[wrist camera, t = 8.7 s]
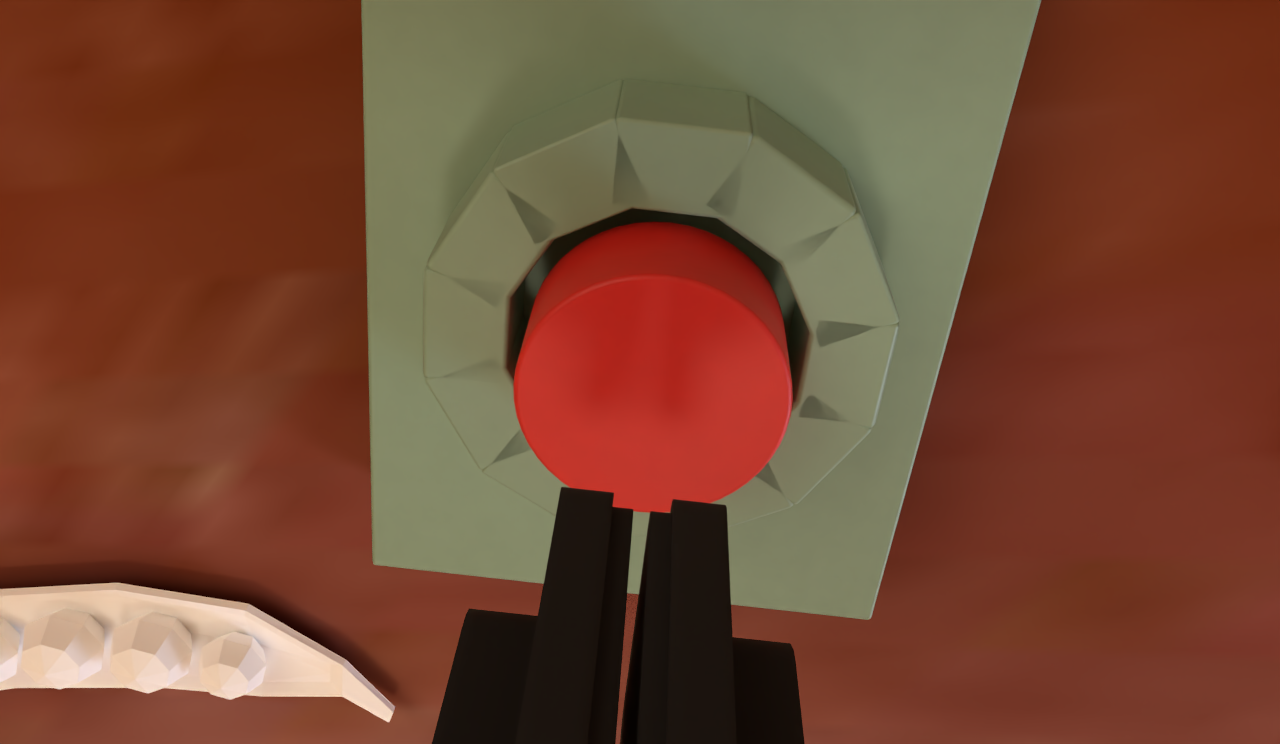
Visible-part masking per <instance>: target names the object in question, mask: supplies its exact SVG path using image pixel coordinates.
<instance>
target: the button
mask: <svg viewBox="0 0 1280 744" xmlns="http://www.w3.org/2000/svg"><path fill="white" fill-rule="evenodd" d="M513 392H514V404H515V410H516V415H517V418H518V421H519V424H520V427H521V430H522V432H523V434H524V436H525V438H526V440H527V442H528V444H529V446H530V447H531V449H532V450H533V452H534V453H535V455H536V456H537V458H538V459H539V460H540V461H541V462H542V464H543V465H544V466H545V467H546V468H547V469H548V470H549V471H550V472H551V473H552V474H553V475H554V476H555V477H557V478H558V479H559V480H560V481H561V482H563V483H564V484H566V485H567V486H569V487H570V488H577V489H586V490H595V491H604V492H613V493H614V498H613V507H618V508H627V509H633V511H635V512H648V513H650V512H651V511H655V512H670V510H671V504H672V500H673V499H677V500H686V501H695V502H704V503H712V502H714V501H717V500H720V499H722V498H724V497H725V496H727V495H729V494H731V493H733V492H735V491H736V490H738V489H739V488H741V487H742V486H744V485H745V484H746V483H748V482H749V481H750V480H751V479H752V478H753V477H755V476H756V475H757V474H758V473H759V472H760V471H761V470H762V469H763V468H764V466H765V465H766V464H767V463H768V462H769V461H770V459H771V458H772V456H773V455H774V453H775V452H776V450H777V449H778V447H779V445H780V444H781V441H782V439H783V437H784V435H785V433H786V430H787V427H788V423H789V420H790V416H791V410H792V402H793V392H792V378H791V371H790V364H789V357H788V349H787V342H786V335H785V327H784V321H783V316H782V311H781V308H780V305H779V302H778V299H777V296H776V294H775V292H774V290H773V288H772V286H771V284H770V282H769V281H768V280H767V278H766V277H765V275H764V274H763V273H762V271H761V270H760V269H759V268H758V266H757V265H756V264H755V263H754V262H753V261H752V260H751V259H750V258H749V257H748V256H747V255H745V254H744V253H743V252H742V251H740V250H739V249H738V248H737V247H735V246H734V245H732V244H730V243H729V242H727V241H726V240H724V239H722V238H720V237H718V236H716V235H714V234H712V233H709V232H707V231H705V230H701V229H698V228H695V227H692V226H688V225H682V224H677V223H670V222H641V223H633V224H628V225H622V226H618V227H615V228H612V229H609V230H606V231H603V232H601V233H599V234H596V235H594V236H592V237H590V238H588V239H586V240H585V241H583V242H582V243H580V244H579V245H577V246H576V247H574V248H573V249H572V250H570V251H569V252H568V253H567V254H566V255H565V256H563V257H562V258H561V259H560V260H559V261H558V263H557V264H556V265H555V266H554V267H553V268H552V269H551V271H550V272H549V274H548V275H547V277H546V278H545V280H544V281H543V283H542V285H541V287H540V289H539V291H538V293H537V296H536V298H535V302H534V305H533V308H532V312H531V315H530V319H529V322H528V326H527V329H526V333H525V336H524V340H523V343H522V347H521V350H520V354H519V357H518V361H517V364H516V368H515V375H514V383H513Z"/></svg>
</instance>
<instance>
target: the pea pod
mask: <svg viewBox="0 0 1280 744" xmlns="http://www.w3.org/2000/svg"><path fill="white" fill-rule="evenodd" d="M13 688H56V689H62V688H130V689H133V690H137V691H141V692H144V693H151V692H154V691H157V690H159V689H162V688H170V689H182V690H193V691H205V692H210V694H211V695H215V696H218V697H222V698H226V699H229V700H231V699H234V698H237V697H240V696H242V695H251V696H307V697H344V698H346V699H348V700H349V701H351V702H353V703H355V704H356V705H358V706H360V707H362V708H364V709H365V710H367V711H369V712H371V713H373V714H374V715H376V716H378V717H380V718H382V719H383V720H385V721H387V722H390V719H391V717H392V715H393V712H394V709H395V706H394V705H393V704H392V703H390V702H389V701H388V700H387V699H386V698H385V697H384V696H383V695H382V694H381V693H380V692H379V691H378V690H377V689H376V688H375V687H374V686H373V685H372V684H371V683H370V682H369V681H368V680H367V679H366V678H365V677H364V676H363V675H361V674H360V673H359V672H358V671H357V670H356V669H355V668H354V667H353V666H352V665H351V664H350V663H349V662H348V661H347V660H346V659H344V658H342V657H341V656H339V655H337V654H335V653H334V652H332V651H330V650H328V649H327V648H325V647H323V646H321V645H320V644H318V643H316V642H314V641H313V640H311V639H309V638H308V637H306V636H304V635H302V634H301V633H299V632H297V631H295V630H294V629H292V628H290V627H288V626H287V625H285V624H283V623H281V622H280V621H278V620H276V619H275V618H273V617H271V616H269V615H268V614H266V613H264V612H262V611H261V610H259V609H257V608H255V607H254V606H252V605H250V604H248V603H241V602H235V601H229V600H223V599H216V598H210V597H204V596H198V595H192V594H185V593H179V592H173V591H167V590H160V589H154V588H148V587H142V586H135V585H129V584H123V583H102V584H83V585H65V586H47V587H29V588H11V589H0V690H6V689H13Z"/></svg>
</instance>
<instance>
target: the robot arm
mask: <svg viewBox="0 0 1280 744" xmlns="http://www.w3.org/2000/svg"><path fill="white" fill-rule="evenodd" d="M613 498H614V493H613V492H604V491H595V490H586V489H577V488H568V487H561V490H560V495H559V501H558V507H557V512H556V518H555V523H554V529H553V535H552V540H551V546H550V551H549V557H548V563H547V568H546V574H545V580H544V585H543V591H542V596H541V602H540V608H539V613H538V616H531V615H522V614H513V613H504V612H495V611H485V610H476V609H469V610H468V612H467V614H466V617H465V620H464V623H463V627H462V630H461V634H460V638H459V642H458V646H457V650H456V653H455V657H454V661H453V665H452V669H451V673H450V676H449V680H448V684H447V688H446V692H445V696H444V699H443V703H442V707H441V711H440V715H439V719H438V722H437V726H436V730H435V734H434V738H433V742H432V744H615V739H616V727H617V714H618V701H619V689H620V676H621V663H622V651H623V638H624V625H625V613H626V600H627V587H628V575H629V562H630V549H631V537H632V524H633V509H627V508H618V507H613ZM620 744H804V736H803V727H802V717H801V708H800V699H799V690H798V681H797V671H796V662H795V656H794V651H793V648H792V646H791V644H789V643H780V642H771V641H761V640H752V639H743V638H734V637H732V618H731V594H730V570H729V546H728V522H727V507H726V505H722V504H713V503H704V502H695V501H686V500H677V499H673V500H672V504H671V510H670V513H664V512H655V511H651V512H650V516H649V523H648V530H647V537H646V545H645V552H644V560H643V567H642V575H641V582H640V589H639V597H638V604H637V612H636V619H635V627H634V634H633V641H632V649H631V656H630V664H629V671H628V678H627V686H626V693H625V701H624V709H623V718H622V728H621V740H620Z"/></svg>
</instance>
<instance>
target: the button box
mask: <svg viewBox="0 0 1280 744" xmlns="http://www.w3.org/2000/svg"><path fill="white" fill-rule="evenodd" d="M1040 3H1041V0H361V7H362V57H363V107H364V157H365V207H366V257H367V307H368V357H369V407H370V457H371V508H372V558H373V563H374V564H375V565H381V566H390V567H399V568H408V569H417V570H426V571H435V572H444V573H453V574H462V575H471V576H480V577H489V578H498V579H507V580H516V581H525V582H534V583H543V584H544V580H545V574H546V568H547V563H548V557H549V551H550V546H551V540H552V535H553V529H554V523H555V518H556V512H557V507H558V501H559V495H560V490H561V487H568V488H570V487H569V486H567V485H566V484H564V483H563V482H561V481H560V480H559V479H558V478H557V477H555V476H554V475H553V474H552V473H551V472H550V471H549V470H548V469H547V468H546V467H545V466H544V465H543V464H542V462H541V461H540V460H539V459H538V458H537V456H536V455H535V453H534V452H533V450H532V449H531V447H530V446H529V444H528V442H527V440H526V438H525V436H524V434H523V432H522V430H521V427H520V424H519V421H518V418H517V415H516V410H515V404H514V392H513V383H514V375H515V368H516V364H517V361H518V357H519V354H520V350H521V347H522V343H523V340H524V336H525V333H526V329H527V326H528V322H529V319H530V315H531V312H532V308H533V305H534V302H535V298H536V296H537V293H538V291H539V289H540V287H541V285H542V283H543V281H544V280H545V278H546V277H547V275H548V274H549V272H550V271H551V269H552V268H553V267H554V266H555V265H556V264H557V263H558V261H559V260H560V259H561V258H562V257H563V256H565V255H566V254H567V253H568V252H569V251H570V250H572V249H573V248H574V247H576V246H577V245H579V244H580V243H582V242H583V241H585V240H586V239H588V238H590V237H592V236H594V235H596V234H599V233H601V232H603V231H606V230H609V229H612V228H615V227H618V226H622V225H628V224H633V223H641V222H670V223H677V224H682V225H688V226H692V227H695V228H698V229H701V230H705V231H707V232H709V233H712V234H714V235H716V236H718V237H720V238H722V239H724V240H726V241H727V242H729V243H730V244H732V245H734V246H735V247H737V248H738V249H739V250H740V251H742V252H743V253H744V254H745V255H747V256H748V257H749V258H750V259H751V260H752V261H753V262H754V263H755V264H756V265H757V266H758V268H759V269H760V270H761V271H762V273H763V274H764V275H765V277H766V278H767V280H768V281H769V282H770V284H771V286H772V288H773V290H774V292H775V294H776V296H777V299H778V302H779V305H780V308H781V311H782V316H783V321H784V327H785V335H786V342H787V349H788V357H789V364H790V371H791V378H792V392H793V402H792V410H791V416H790V420H789V423H788V427H787V430H786V433H785V435H784V437H783V439H782V441H781V444H780V445H779V447H778V449H777V450H776V452H775V453H774V455H773V456H772V458H771V459H770V461H769V462H768V463H767V464H766V465H765V466H764V468H763V469H762V470H761V471H760V472H759V473H758V474H757V475H756V476H755V477H753V478H752V479H751V480H750V481H749V482H748V483H746V484H745V485H744V486H742V487H741V488H739V489H738V490H736V491H735V492H733V493H731V494H729V495H727V496H725V497H724V498H722V499H720V500H717V501H714V502H712V503H713V504H722V505H726V507H727V522H728V546H729V570H730V594H731V605H740V606H749V607H758V608H767V609H776V610H785V611H794V612H803V613H812V614H821V615H830V616H839V617H848V618H857V619H866V620H868V619H870V618H871V616H872V613H873V609H874V606H875V602H876V598H877V595H878V591H879V587H880V584H881V580H882V577H883V573H884V569H885V566H886V562H887V558H888V555H889V551H890V547H891V544H892V540H893V537H894V533H895V529H896V526H897V522H898V518H899V515H900V511H901V508H902V504H903V500H904V497H905V493H906V489H907V486H908V482H909V479H910V475H911V471H912V468H913V464H914V460H915V457H916V453H917V449H918V446H919V442H920V439H921V435H922V431H923V428H924V424H925V420H926V417H927V413H928V410H929V406H930V402H931V399H932V395H933V391H934V388H935V384H936V380H937V377H938V373H939V370H940V366H941V362H942V359H943V355H944V351H945V348H946V344H947V341H948V337H949V333H950V330H951V326H952V322H953V319H954V315H955V311H956V308H957V304H958V301H959V297H960V293H961V290H962V286H963V282H964V279H965V275H966V272H967V268H968V264H969V261H970V257H971V253H972V250H973V246H974V243H975V239H976V235H977V232H978V228H979V224H980V221H981V217H982V213H983V210H984V206H985V203H986V199H987V195H988V192H989V188H990V184H991V181H992V177H993V174H994V170H995V166H996V163H997V159H998V155H999V152H1000V148H1001V144H1002V141H1003V137H1004V134H1005V130H1006V126H1007V123H1008V119H1009V115H1010V112H1011V108H1012V105H1013V101H1014V97H1015V94H1016V90H1017V86H1018V83H1019V79H1020V75H1021V72H1022V68H1023V65H1024V61H1025V57H1026V54H1027V50H1028V46H1029V43H1030V39H1031V36H1032V32H1033V28H1034V25H1035V21H1036V17H1037V14H1038V10H1039V7H1040ZM664 513H670V512H664ZM649 516H650V513H648V512H635V511H633V524H632V537H631V549H630V562H629V575H628V587H627V593H632V594H639V589H640V582H641V575H642V567H643V560H644V552H645V545H646V537H647V530H648V523H649Z"/></svg>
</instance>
